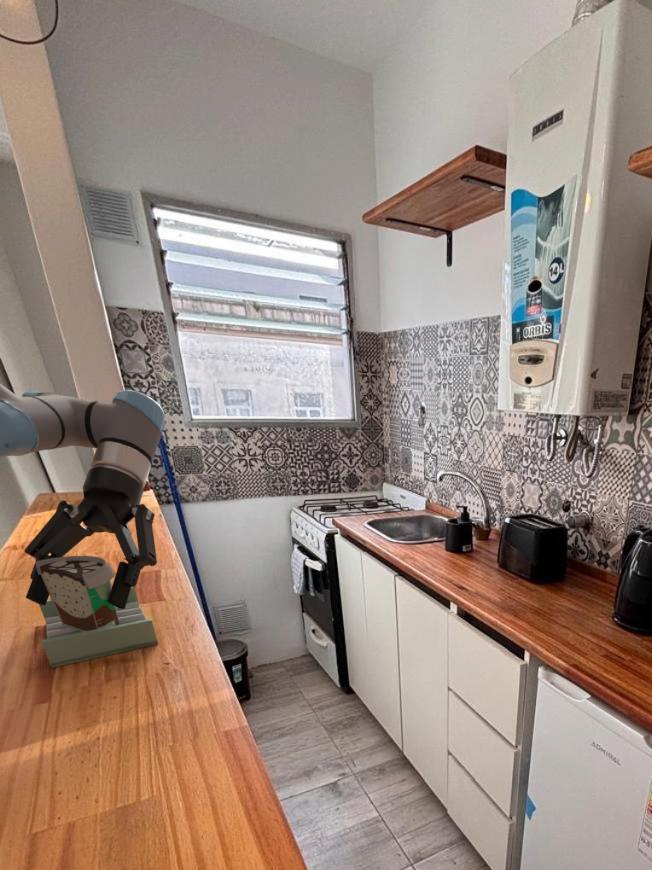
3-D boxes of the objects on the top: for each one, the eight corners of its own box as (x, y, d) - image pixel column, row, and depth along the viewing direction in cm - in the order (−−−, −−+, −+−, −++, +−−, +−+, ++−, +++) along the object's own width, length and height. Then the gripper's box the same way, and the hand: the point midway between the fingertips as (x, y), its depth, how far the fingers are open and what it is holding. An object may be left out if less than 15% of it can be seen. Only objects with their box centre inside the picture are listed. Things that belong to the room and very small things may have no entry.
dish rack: (46, 623, 84) (38, 601, 82) (139, 606, 91) (133, 585, 89) (51, 668, 71) (41, 642, 69) (158, 644, 79) (152, 620, 77)
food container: (147, 624, 80) (129, 562, 75) (106, 640, 75) (84, 575, 70) (98, 609, 84) (78, 550, 80) (56, 623, 80) (33, 560, 75)
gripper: (202, 496, 86) (169, 616, 79) (63, 490, 87) (18, 609, 80) (176, 467, 79) (138, 596, 72) (26, 461, 80) (-27, 589, 73)
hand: (75, 603), depth 76 cm, fingers closed on food container, 11 cm apart
